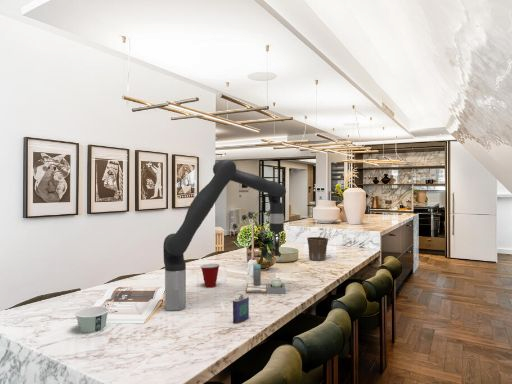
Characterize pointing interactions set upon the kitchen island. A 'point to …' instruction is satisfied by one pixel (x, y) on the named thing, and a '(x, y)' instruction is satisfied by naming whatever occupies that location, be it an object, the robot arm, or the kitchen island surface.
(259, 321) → the kitchen island surface
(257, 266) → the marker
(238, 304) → the flask
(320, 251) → the plant pot
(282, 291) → the button housing
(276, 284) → the button
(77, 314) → the food container
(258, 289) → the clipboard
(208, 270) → the plastic cup
